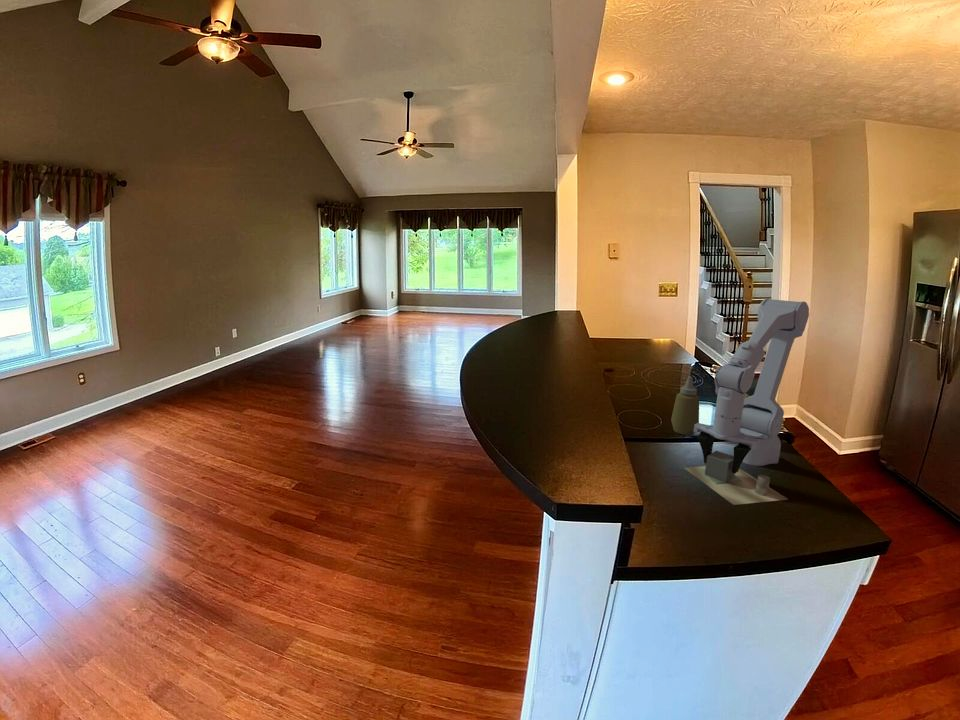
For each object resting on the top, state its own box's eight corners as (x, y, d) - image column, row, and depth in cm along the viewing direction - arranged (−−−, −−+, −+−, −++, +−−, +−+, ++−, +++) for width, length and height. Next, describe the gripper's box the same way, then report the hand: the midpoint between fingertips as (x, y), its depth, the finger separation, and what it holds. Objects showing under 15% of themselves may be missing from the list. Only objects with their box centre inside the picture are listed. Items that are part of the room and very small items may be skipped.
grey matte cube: (713, 468, 119) (716, 450, 118) (734, 476, 116) (737, 457, 115) (704, 474, 116) (707, 456, 115) (725, 482, 113) (728, 463, 111)
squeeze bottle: (665, 427, 152) (671, 373, 147) (689, 426, 152) (695, 373, 148) (677, 437, 144) (684, 380, 140) (702, 436, 144) (710, 380, 140)
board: (731, 469, 123) (734, 449, 122) (787, 505, 106) (791, 483, 105) (683, 473, 121) (686, 453, 119) (732, 510, 103) (736, 488, 102)
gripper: (690, 410, 115) (684, 461, 118) (754, 427, 104) (745, 483, 108) (703, 404, 120) (697, 453, 123) (766, 420, 109) (757, 474, 112)
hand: (720, 467), depth 115 cm, fingers open, 6 cm apart
